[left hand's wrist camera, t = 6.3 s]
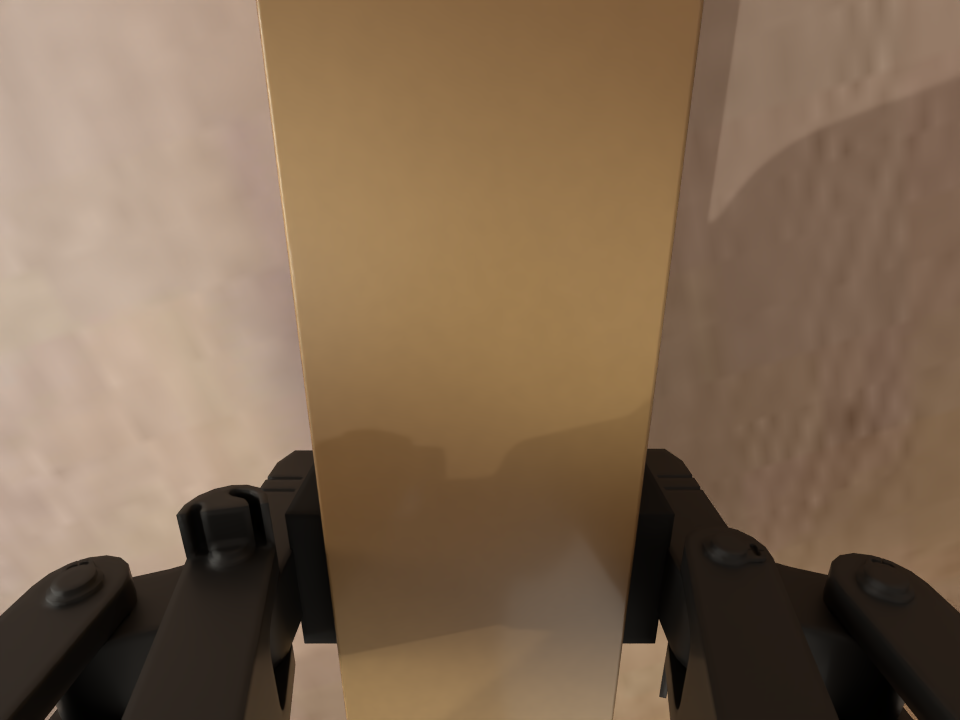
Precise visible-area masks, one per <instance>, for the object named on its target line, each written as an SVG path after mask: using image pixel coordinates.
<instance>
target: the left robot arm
mask: <svg viewBox="0 0 960 720" xmlns="http://www.w3.org/2000/svg"><path fill="white" fill-rule="evenodd" d="M176 516H177V520H178V524H179V528H180V532H181V536H182V541H183V545H184V549H185V553H186V557H187V560H186V562H185V565H183V566H179V567H176V568H172V569H168V570H164V571H159V572H154V573H150V574H145V575H141V576H136V577H132V575H131V572H130V568H129V565H128V563H126V562H125V561H124V560H123V559H122V558H120V557H114V556H107V555H106V556H98V557H90V558H86V559H82V560H80V561H75V562H73V563H70V564H67V565H66V566H64V567H62V568H60V569H58V570H56V571H54V572H52V573H50V574H48V575H47V576H45V577H44V578H43V579H41V580H40V581H39V582H37V583H36V584H35V585H33V586H32V587H31V588H30V589H29V590H28V591H27V592H26V593H25V594H23V595H22V596H21V597H20V598H19V599H18V600H17V601H16V602H15V603H14V604H13V605H12V606H11V607H10V608H8V609H7V610H6V611H5V612H4V613H3V614H2V615H1V616H0V720H44V719H45V718H46V717H47V716H48V714H49V713H50V712H51V710H52V709H53V708H54V707H55V705H56V707H57V710H56V711H55V713H54V714H53V715H52V716H51V718H50V719H49V720H290V712H291V702H292V693H293V683H294V673H295V659H294V652H293V646H292V642H293V640H294V637H295V634H296V632H297V629H298V627H299V624H300V622H301V623H302V629H303V636H304V642H305V643H337V639H336V631H335V623H334V615H333V607H332V599H331V591H330V583H329V575H328V567H327V559H326V552H325V544H324V536H323V528H322V520H321V512H320V504H319V496H318V488H317V480H316V472H315V464H314V456H313V451H294V452H292V453H291V454H289V455H288V456H287V457H285V458H284V459H282V460H281V461H279V462H278V463H277V464H276V466H275V467H274V469H273V470H272V472H271V473H270V474H269V476H268V480H265V482H264V483H263V485H262V486H261V488H258V487H254V486H250V485H231V486H226V487H221V488H217V489H213V490H211V491H209V492H206V493H204V494H201V495H199V496H197V497H196V498H194V499H193V500H191V501H190V502H188V503H187V504H185V505H184V506H183V508H182V509H181V510H180V511H179V512H178V514H177V515H176ZM659 620H660V623H661V625H662V628H663V630H664V633H665V635H666V638H667V640H668V646H667V652H666V658H665V664H664V670H663V676H662V682H661V689H660V695H659V697H663V698H666V696H667V691H668V701H669V711H670V720H913V719H912V718H911V716H910V715H909V714H908V713H907V711H906V710H905V709H904V707H903V706H904V703H906V705H907V706H908V707H909V708H910V710H911V711H912V712H913V713H914V715H915V716H916V717H917V718H918V720H960V613H959V612H958V611H957V610H956V609H955V608H954V607H953V606H952V605H950V604H949V603H948V602H947V601H946V600H945V599H944V598H943V597H942V596H941V595H940V594H939V593H937V592H936V591H935V590H934V589H933V588H932V587H931V586H930V585H929V584H928V583H926V582H925V581H924V580H922V579H921V578H920V577H918V576H917V575H915V574H914V573H913V572H911V571H909V570H907V569H905V568H903V567H901V566H899V565H897V564H895V563H894V562H891V561H889V560H886V559H882V558H880V557H875V556H872V555H865V554H857V553H851V554H845V555H839V556H838V557H837V558H836V559H835V560H833V561H832V563H831V567H830V570H829V574H828V575H825V574H820V573H816V572H811V571H806V570H802V569H797V568H793V567H788V566H785V565H781V564H778V563H775V561H774V559H773V557H772V556H771V554H770V553H769V551H768V550H767V549H766V547H765V546H763V545H762V544H761V543H760V542H758V541H757V540H756V539H754V538H753V537H751V536H749V535H747V534H745V533H743V532H741V531H738V530H736V529H732V528H728V526H727V525H726V524H725V522H724V521H723V519H722V518H721V516H720V515H719V513H718V512H717V510H716V509H715V508H714V506H713V505H712V503H711V502H710V500H709V499H708V497H707V496H706V495H705V493H704V492H703V490H700V486H699V484H698V483H697V481H696V480H695V479H694V478H692V474H691V473H690V471H689V470H688V468H687V467H686V466H685V464H684V463H683V461H682V460H680V459H679V458H677V457H676V456H674V455H673V454H671V453H670V452H669V451H667V450H666V449H647V454H646V462H645V470H644V477H643V485H642V493H641V501H640V509H639V517H638V525H637V533H636V541H635V549H634V556H633V564H632V572H631V580H630V588H629V596H628V604H627V612H626V620H625V628H624V635H623V643H655V640H656V634H657V627H658V621H659Z"/></svg>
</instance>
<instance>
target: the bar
mask: <svg viewBox="0 0 960 720" xmlns="http://www.w3.org/2000/svg"><path fill="white" fill-rule="evenodd" d="M703 4H704V0H256V5H257V13H258V20H259V28H260V36H261V44H262V52H263V60H264V68H265V76H266V84H267V92H268V100H269V108H270V116H271V123H272V131H273V139H274V147H275V155H276V163H277V171H278V179H279V187H280V195H281V203H282V211H283V219H284V227H285V234H286V242H287V250H288V258H289V266H290V274H291V282H292V290H293V298H294V306H295V314H296V322H297V330H298V338H299V345H300V353H301V361H302V369H303V377H304V385H305V393H306V401H307V409H308V417H309V425H310V433H311V441H312V449H313V456H314V464H315V472H316V480H317V488H318V496H319V504H320V512H321V520H322V528H323V536H324V544H325V552H326V559H327V567H328V575H329V583H330V591H331V599H332V607H333V615H334V623H335V631H336V639H337V647H338V655H339V663H340V670H341V678H342V686H343V694H344V702H345V710H346V718H347V720H613V714H614V707H615V699H616V691H617V683H618V675H619V667H620V659H621V651H622V643H623V635H624V628H625V620H626V612H627V604H628V596H629V588H630V580H631V572H632V564H633V556H634V549H635V541H636V533H637V525H638V517H639V509H640V501H641V493H642V485H643V477H644V470H645V462H646V454H647V446H648V438H649V430H650V422H651V414H652V406H653V398H654V391H655V383H656V375H657V367H658V359H659V351H660V343H661V335H662V327H663V319H664V312H665V304H666V296H667V288H668V280H669V272H670V264H671V256H672V248H673V240H674V233H675V225H676V217H677V209H678V201H679V193H680V185H681V177H682V169H683V161H684V154H685V146H686V138H687V130H688V122H689V114H690V106H691V98H692V90H693V83H694V75H695V67H696V59H697V51H698V43H699V35H700V27H701V19H702V11H703Z"/></svg>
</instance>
